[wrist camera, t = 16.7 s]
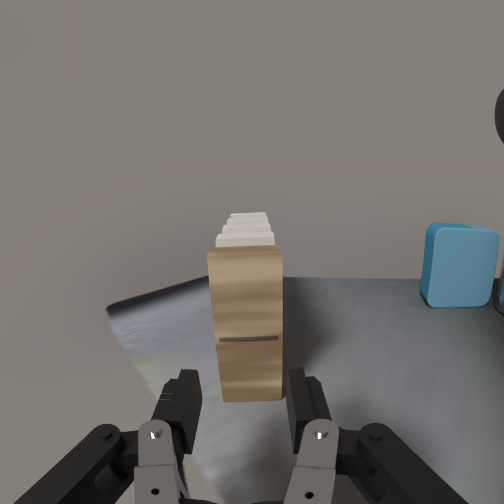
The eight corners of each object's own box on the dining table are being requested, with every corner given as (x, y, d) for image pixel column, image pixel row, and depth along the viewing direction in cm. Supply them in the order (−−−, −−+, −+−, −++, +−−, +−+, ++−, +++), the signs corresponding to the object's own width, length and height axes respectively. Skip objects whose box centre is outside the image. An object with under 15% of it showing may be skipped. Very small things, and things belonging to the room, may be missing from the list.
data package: (477, 296, 37) (487, 225, 35) (488, 306, 33) (501, 230, 30) (418, 297, 41) (426, 222, 38) (425, 308, 36) (436, 227, 33)
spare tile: (281, 399, 23) (282, 252, 19) (223, 402, 23) (207, 255, 19) (279, 382, 25) (278, 244, 22) (225, 384, 25) (211, 247, 22)
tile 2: (276, 364, 28) (274, 236, 25) (226, 365, 28) (215, 239, 25) (274, 351, 30) (272, 231, 27) (228, 352, 30) (218, 233, 27)
